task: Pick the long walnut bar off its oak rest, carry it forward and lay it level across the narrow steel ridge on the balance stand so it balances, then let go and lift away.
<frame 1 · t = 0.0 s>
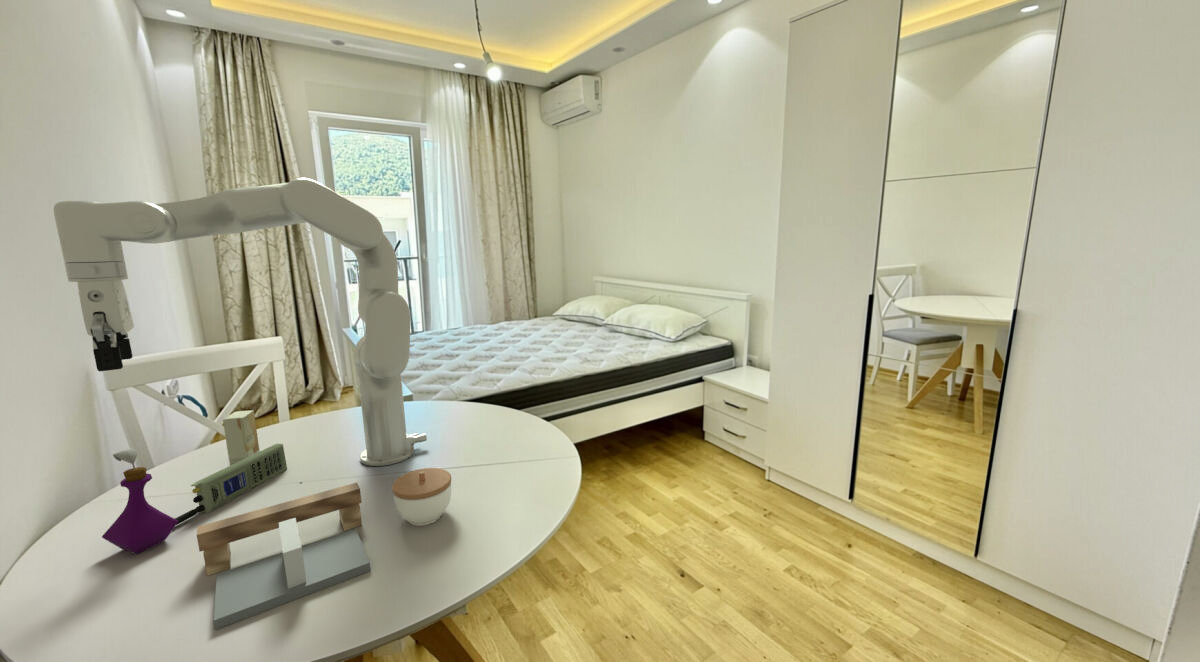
hand: (116, 364, 89), 31 cm above the table, tool pointing down, fingers open, 9 cm apart
lidded jar: (425, 517, 93), on the table
handheld radio: (235, 496, 103), on the table
balance stand: (295, 576, 77), on the table
bar rest: (289, 541, 86), on the table
walnut bar: (286, 521, 85), point 4 cm above the table, touching bar rest
skincare box: (245, 461, 119), on the table
purple potion bottle: (144, 546, 86), on the table
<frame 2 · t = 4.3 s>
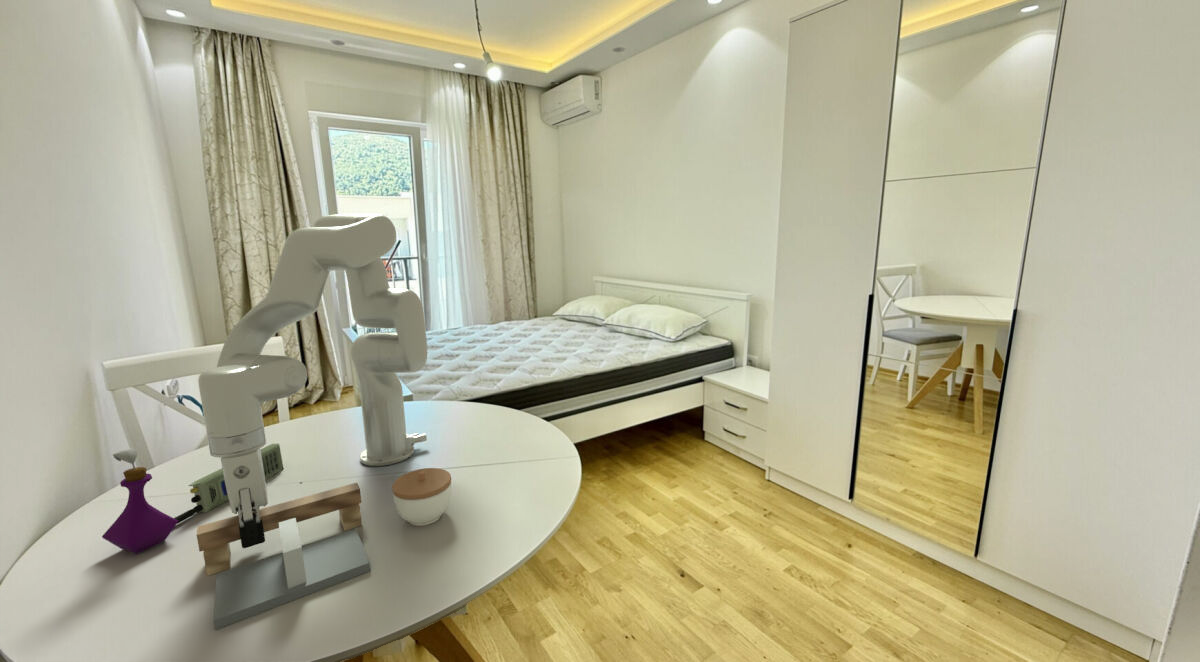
hand: (253, 538, 83), 3 cm above the table, tool pointing down, fingers closed on walnut bar, 3 cm apart
walnut bar: (286, 521, 85), point 4 cm above the table, touching bar rest, gripper
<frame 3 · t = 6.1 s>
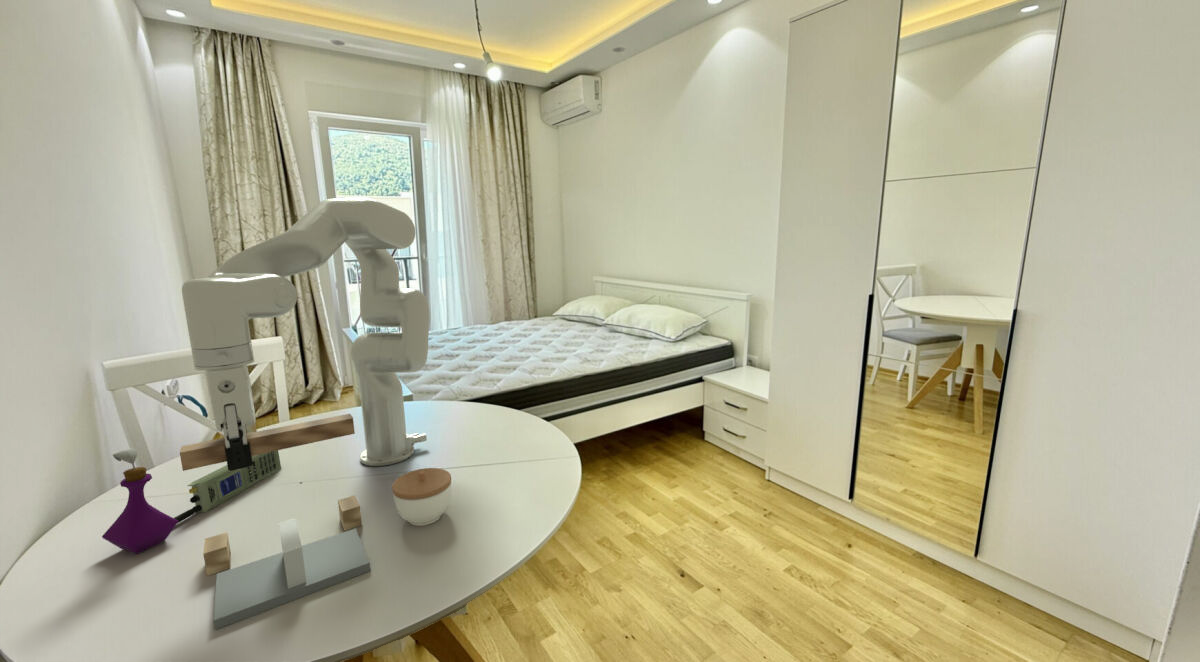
hand: (240, 462, 79), 17 cm above the table, tool pointing down, fingers closed on walnut bar, 3 cm apart
walnut bar: (275, 447, 82), point 19 cm above the table, touching gripper
when the fingers open (7 cm above the table, at t = 8.3 s): walnut bar stays where it is, resting on balance stand.
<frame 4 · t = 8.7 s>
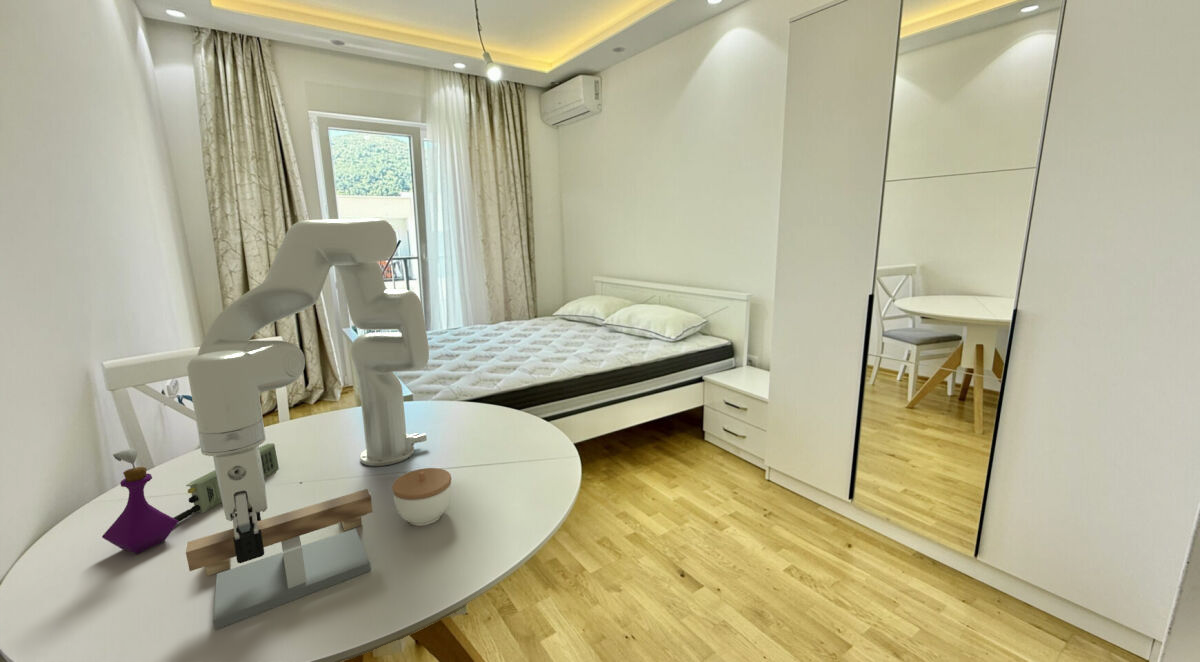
hand: (250, 544, 73), 8 cm above the table, tool pointing down, fingers open, 7 cm apart
walnut bar: (289, 534, 76), point 8 cm above the table, touching balance stand
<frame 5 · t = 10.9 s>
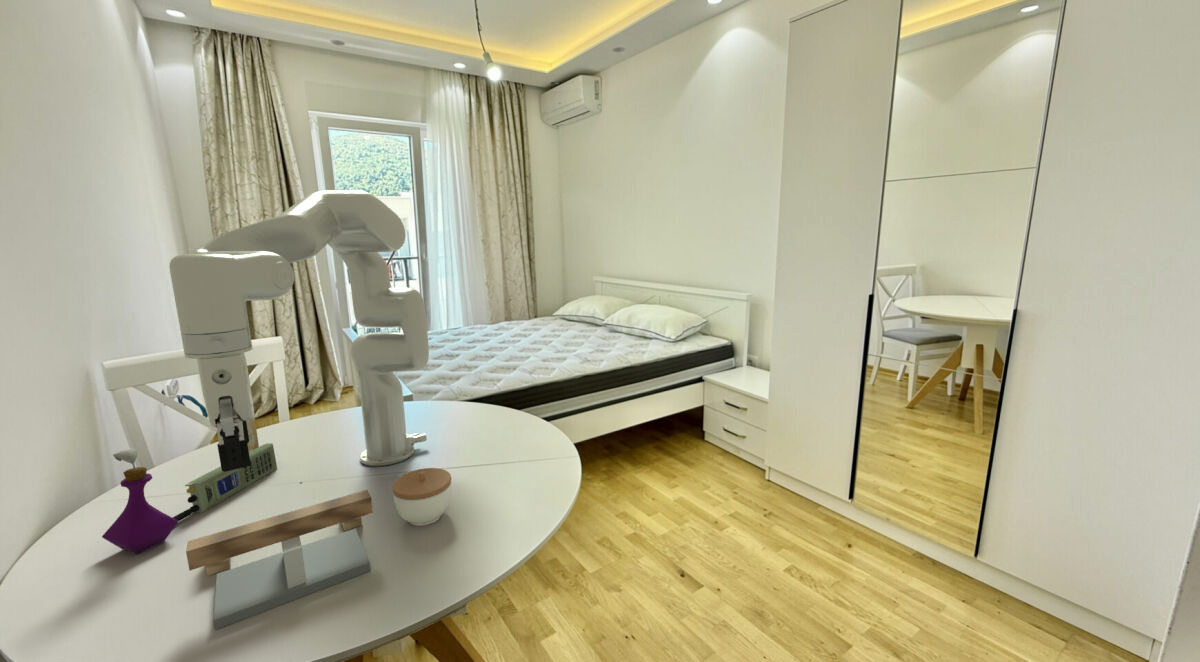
hand: (236, 456, 70), 22 cm above the table, tool pointing down, fingers open, 9 cm apart
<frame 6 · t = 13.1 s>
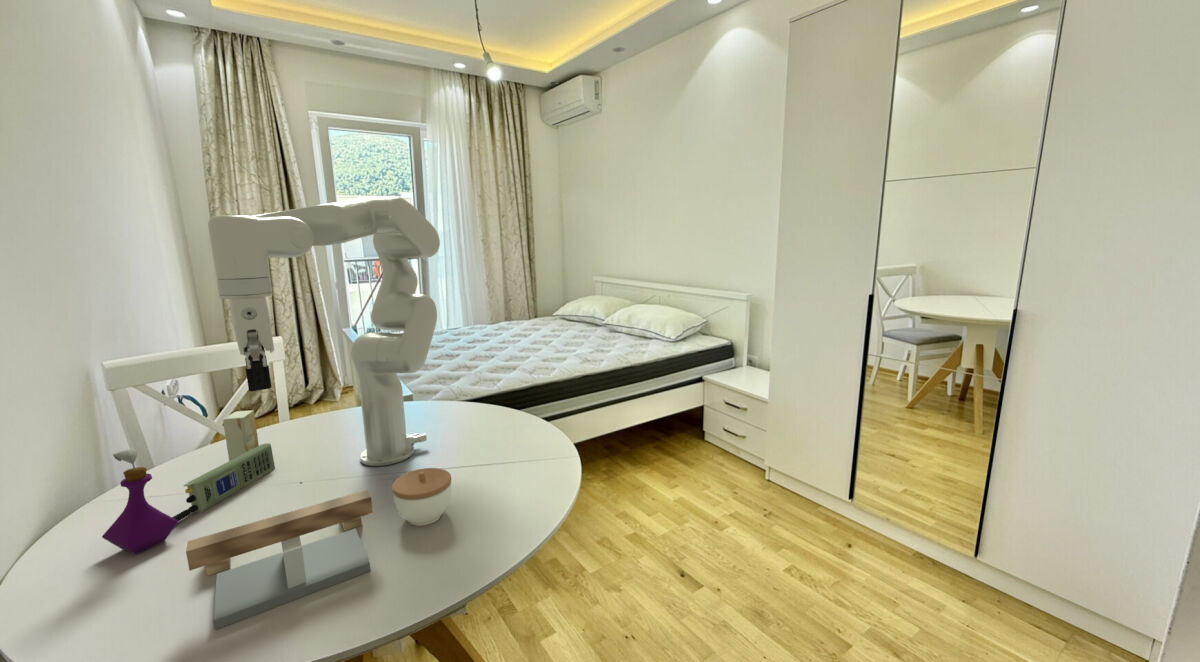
hand: (259, 383, 86), 28 cm above the table, tool pointing down, fingers open, 9 cm apart
at the end: walnut bar 0.1 cm off-centre on the balance stand, point 7.5 cm above the balance stand's base; walnut bar tilted 0°; the gripper is holding nothing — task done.
